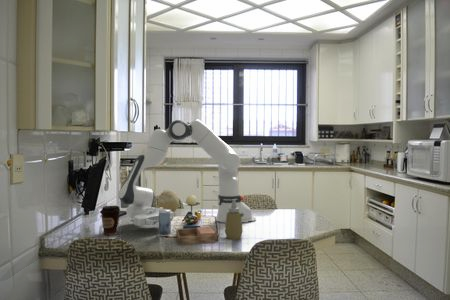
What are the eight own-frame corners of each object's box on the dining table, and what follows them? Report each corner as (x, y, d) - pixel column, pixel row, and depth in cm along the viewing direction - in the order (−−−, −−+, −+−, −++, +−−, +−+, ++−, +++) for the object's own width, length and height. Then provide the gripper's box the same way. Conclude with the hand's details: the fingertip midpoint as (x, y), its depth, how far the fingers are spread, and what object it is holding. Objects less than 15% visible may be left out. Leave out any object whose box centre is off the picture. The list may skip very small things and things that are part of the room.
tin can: (170, 233, 150) (170, 208, 149) (171, 236, 144) (171, 211, 144) (158, 234, 148) (158, 209, 148) (159, 237, 143) (159, 211, 143)
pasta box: (210, 233, 147) (210, 226, 147) (215, 240, 137) (215, 232, 137) (196, 234, 145) (196, 227, 145) (200, 241, 136) (200, 233, 136)
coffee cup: (113, 236, 144) (113, 209, 143) (97, 235, 145) (97, 208, 145) (123, 231, 152) (123, 205, 152) (107, 230, 154) (107, 204, 153)
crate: (212, 234, 149) (212, 227, 149) (218, 243, 136) (218, 235, 136) (176, 236, 144) (176, 229, 144) (179, 246, 132) (179, 237, 132)
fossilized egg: (157, 216, 182) (157, 191, 181) (157, 212, 194) (157, 188, 193) (179, 215, 185) (179, 190, 184) (177, 211, 197) (177, 187, 196)
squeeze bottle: (224, 236, 145) (224, 198, 145) (241, 236, 146) (241, 198, 145) (225, 242, 137) (225, 201, 137) (243, 242, 138) (244, 201, 137)
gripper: (128, 212, 150) (143, 218, 140) (164, 206, 164) (179, 211, 155) (128, 225, 150) (143, 231, 140) (164, 218, 165) (179, 223, 155)
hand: (162, 220), depth 148 cm, fingers open, 8 cm apart
